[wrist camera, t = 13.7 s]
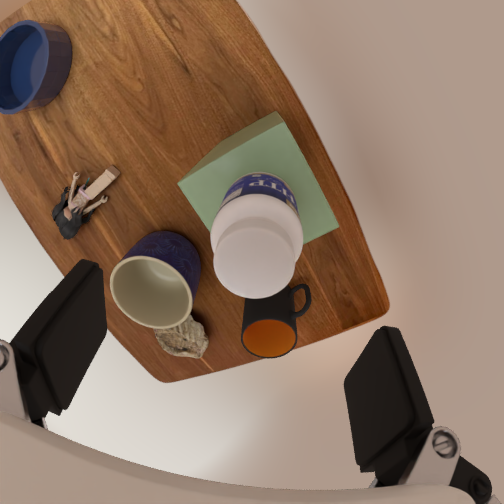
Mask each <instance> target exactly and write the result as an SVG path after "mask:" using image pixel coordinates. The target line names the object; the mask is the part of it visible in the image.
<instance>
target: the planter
mask: <svg viewBox="0 0 504 504" xmlns="http://www.w3.org/2000/svg"><path fill="white" fill-rule="evenodd" d="M200 274H201V263H200V258H199V255H198V253H197V251H196V249H195V248H194V246H193V245H192V244H191V243H190V242H189V241H188V240H187V239H186V238H184V237H183V236H181V235H179V234H177V233H174V232H170V231H158V232H153V233H151V234H148V235H147V236H145V237H143V238H142V239H141V240H140V241H138V242H137V243H136V244H135V245H134V246H133V247H132V248H131V249H130V250H129V252H128V253H127V254H126V255H125V256H124V257H123V258H122V259H121V261H120V262H119V263H118V264H117V265H116V266H115V268H114V269H113V271H112V274H111V277H110V289H111V293H112V296H113V299H114V301H115V302H116V304H117V305H118V307H119V308H120V309H121V311H122V312H123V313H124V314H125V315H127V316H128V317H129V318H130V319H132V320H133V321H135V322H137V323H139V324H141V325H143V326H146V327H150V328H155V329H167V328H172V327H175V326H177V325H179V324H181V323H182V322H184V321H185V320H186V319H187V317H188V316H189V314H190V312H191V310H192V306H193V303H194V299H195V296H196V292H197V288H198V284H199V280H200Z"/></svg>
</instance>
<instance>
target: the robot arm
mask: <svg viewBox="0 0 504 504" xmlns="http://www.w3.org/2000/svg"><path fill="white" fill-rule="evenodd" d="M106 333H107V320H106V310H105V297H104V282H103V270H102V269H101V268H99V265H98V263H96V262H92V261H89V260H85V259H81V260H80V261H79V262H78V263H77V264H76V265H75V266H74V267H73V269H72V270H71V271H70V272H69V273H68V274H67V275H66V276H65V277H64V279H63V280H62V281H61V282H60V283H59V284H58V285H57V287H56V288H55V289H54V290H53V291H52V292H51V293H49V294H48V296H47V297H46V298H45V299H44V300H43V302H42V303H41V304H40V305H39V306H38V308H37V309H36V310H35V311H34V313H33V314H32V315H31V316H30V317H29V319H28V320H27V321H26V322H25V324H24V325H23V326H22V328H21V329H20V330H19V332H18V333H17V334H16V336H15V337H14V338H13V339H12V341H11V342H10V343H8V342H6V341H4V340H1V339H0V504H501V503H500V501H499V500H498V499H497V498H496V496H495V495H492V496H491V493H492V486H491V482H490V480H489V478H488V476H487V475H486V474H484V473H483V472H482V471H480V470H479V469H478V468H476V467H475V466H473V465H472V464H471V463H469V462H468V461H467V460H465V459H464V458H463V457H461V456H460V451H461V446H460V441H459V439H458V437H457V435H456V434H455V433H454V432H453V431H452V430H450V429H449V428H447V427H442V426H439V427H435V428H434V429H433V427H432V424H433V423H434V419H433V416H432V413H431V410H430V407H429V404H428V401H427V398H426V396H425V393H424V391H423V388H422V385H421V382H420V380H419V377H418V374H417V372H416V369H415V367H414V364H413V361H412V359H411V356H410V354H409V351H408V349H407V347H406V344H405V342H404V340H403V337H402V335H401V332H400V330H399V329H398V328H395V327H388V326H382V327H381V328H380V329H377V330H376V331H375V332H374V334H373V336H372V337H371V339H370V340H369V342H368V344H367V345H366V347H365V349H364V350H363V352H362V353H361V355H360V356H359V358H358V359H357V361H356V362H355V364H354V366H353V367H352V368H351V370H350V372H349V373H348V374H347V376H346V378H345V381H344V390H345V395H346V401H347V407H348V413H349V419H350V425H351V432H352V438H353V446H354V453H355V460H356V463H357V465H360V470H361V473H363V472H374V471H375V476H376V477H375V479H374V480H373V482H372V483H371V485H370V486H369V488H364V489H346V490H290V489H273V488H260V487H251V486H241V485H234V484H227V483H220V482H214V481H208V480H203V479H197V478H192V477H188V476H183V475H178V474H174V473H170V472H166V471H162V470H158V469H154V468H150V467H147V466H143V465H140V464H136V463H132V462H130V461H126V460H123V459H120V458H117V457H114V456H111V455H109V454H106V453H103V452H100V451H97V450H95V449H92V448H89V447H87V446H84V445H82V444H79V443H76V442H74V441H72V440H69V439H67V438H65V437H62V436H60V435H58V434H55V433H53V432H51V431H49V430H48V428H47V425H46V421H45V417H46V415H47V413H48V411H50V412H52V413H54V414H56V415H58V416H60V414H61V412H62V410H63V409H64V410H66V409H67V408H68V407H69V405H70V403H71V401H72V399H73V397H74V395H75V393H76V391H77V389H78V387H79V385H80V383H81V381H82V379H83V377H84V375H85V373H86V371H87V369H88V367H89V366H90V363H91V362H92V360H93V358H94V356H95V354H96V352H97V351H98V349H99V347H100V345H101V343H102V341H103V340H104V338H105V336H106Z"/></svg>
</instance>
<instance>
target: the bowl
mask: <svg viewBox="0 0 504 504" xmlns="http://www.w3.org/2000/svg"><path fill="white" fill-rule="evenodd" d="M71 62H72V46H71V41H70V38H69V36H68V34H67V33H66V32H65V30H64V29H63V28H61V27H60V26H58V25H54V24H51V23H45V22H40V21H33V20H25V21H20V22H17V23H16V24H14V25H13V26H11V27H10V28H8V29H7V30H6V31H5V32H4V34H3V35H2V36H1V37H0V113H2V114H16V113H21V112H26V111H31V110H36V109H38V108H41V107H43V106H45V105H47V104H48V103H50V102H51V101H52V100H53V99H54V98H55V97H56V96H57V95H58V93H59V92H60V90H61V89H62V87H63V86H64V84H65V82H66V79H67V77H68V74H69V71H70V67H71Z"/></svg>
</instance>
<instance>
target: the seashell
mask: <svg viewBox="0 0 504 504" xmlns="http://www.w3.org/2000/svg"><path fill="white" fill-rule="evenodd" d="M154 331H155V332H154V333H156V334H155V337H156V338H157V340H158V342H159V344H160V345H161V346H162V349H163V350H165V351H167V352H168V353H170V354H172V355H174V356H189V357H193V358H201V357H202V355H203V352H204V351H205V349H206V348H207V347H208V343H209V340H208V336H207V335H206V334H205V333H204V329H203V326H202V324H201V323H197V322H195V321H194V320H193V318H192V316H191V315H190V314H189V316H188V317H187V319H186V320H185V321H184V322H182V323H181V324H179V325H177V326H175V327H172V328H167V329H155V328H154Z"/></svg>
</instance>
